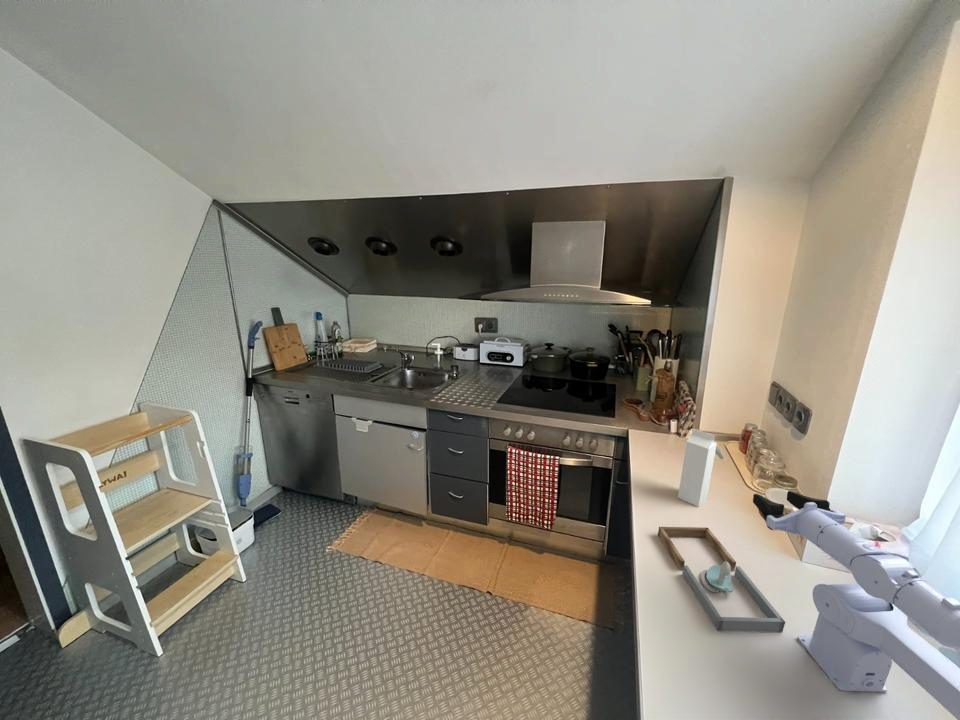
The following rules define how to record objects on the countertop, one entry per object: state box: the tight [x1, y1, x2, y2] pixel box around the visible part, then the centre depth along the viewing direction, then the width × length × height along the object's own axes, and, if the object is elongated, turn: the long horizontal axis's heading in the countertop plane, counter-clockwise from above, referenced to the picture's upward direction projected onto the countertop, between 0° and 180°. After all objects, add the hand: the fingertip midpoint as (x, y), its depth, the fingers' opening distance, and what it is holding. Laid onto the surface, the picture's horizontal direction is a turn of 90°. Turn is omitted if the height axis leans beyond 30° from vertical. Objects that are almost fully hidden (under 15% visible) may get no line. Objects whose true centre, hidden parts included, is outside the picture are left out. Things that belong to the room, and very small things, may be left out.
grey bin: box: [681, 564, 786, 633], centre depth 81 cm, size 14×13×2 cm
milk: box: [677, 428, 718, 508], centre depth 113 cm, size 6×6×22 cm
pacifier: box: [699, 561, 734, 593], centre depth 85 cm, size 7×6×6 cm
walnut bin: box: [657, 526, 737, 572], centre depth 95 cm, size 12×13×2 cm
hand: (771, 496), depth 83 cm, fingers open, 7 cm apart
